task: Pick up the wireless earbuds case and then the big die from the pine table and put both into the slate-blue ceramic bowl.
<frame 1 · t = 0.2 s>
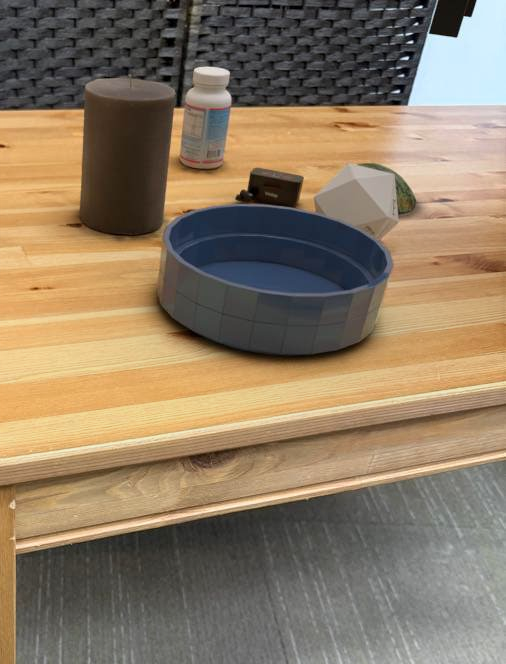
hand: (451, 25, 84), 21 cm above the table, tool pointing down, fingers open, 13 cm apart
pillar candle: (121, 221, 95), on the table
bowl: (264, 305, 80), on the table
die: (346, 246, 92), on the table
pill bottle: (200, 164, 112), on the table
seashell: (373, 201, 104), on the table
wireless earbuds: (264, 204, 101), on the table
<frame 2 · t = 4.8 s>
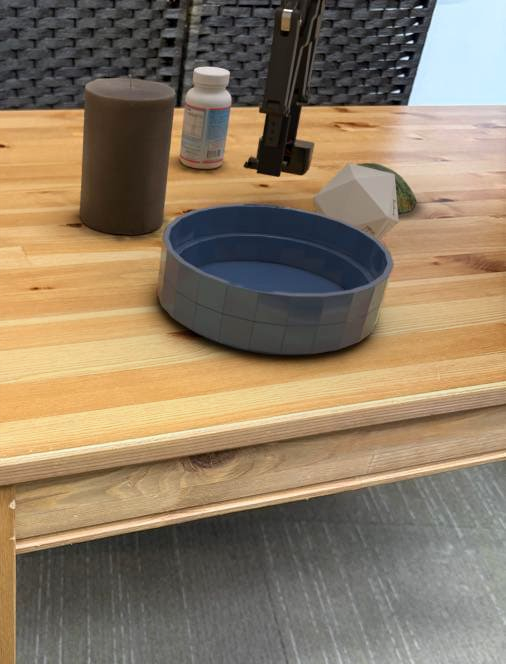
hand: (274, 167, 98), 4 cm above the table, tool pointing down, fingers closed on wireless earbuds, 4 cm apart
wireless earbuds: (273, 172, 99), point 4 cm above the table, touching gripper
everything else where it was.
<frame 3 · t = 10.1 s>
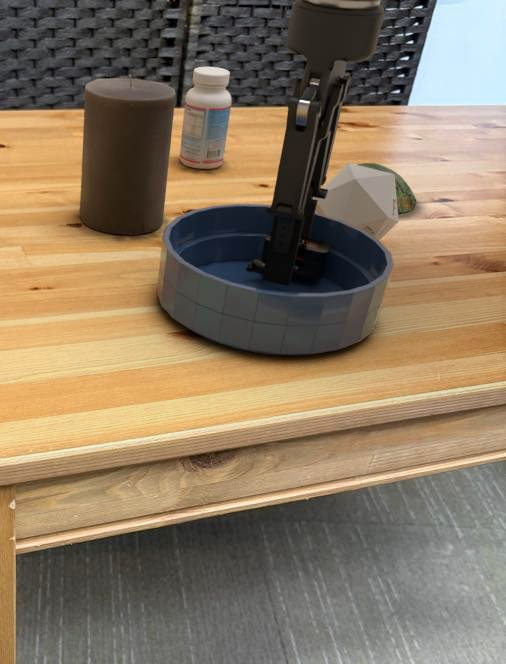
hand: (283, 271, 82), 1 cm above the table, tool pointing down, fingers closed on wireless earbuds, 4 cm apart
wireless earbuds: (282, 275, 83), point 1 cm above the table, touching gripper
everything else where it was.
when the fingers open (3 cm above the table, at t = 16.1 s): wireless earbuds drops 2 cm, resting on bowl.
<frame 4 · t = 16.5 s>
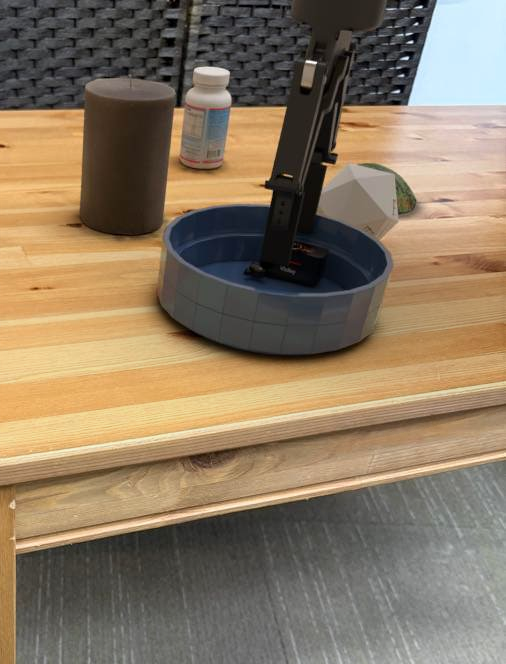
hand: (286, 245, 80), 4 cm above the table, tool pointing down, fingers open, 9 cm apart
wireless earbuds: (279, 280, 83), resting on bowl
everything else where it was.
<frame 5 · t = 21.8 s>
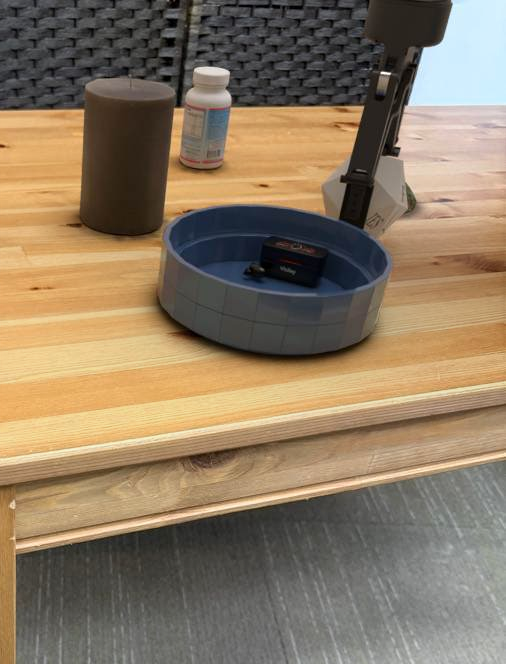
hand: (355, 230, 91), 2 cm above the table, tool pointing down, fingers closed on die, 10 cm apart
die: (355, 235, 91), point 1 cm above the table, touching gripper
everything else where it was.
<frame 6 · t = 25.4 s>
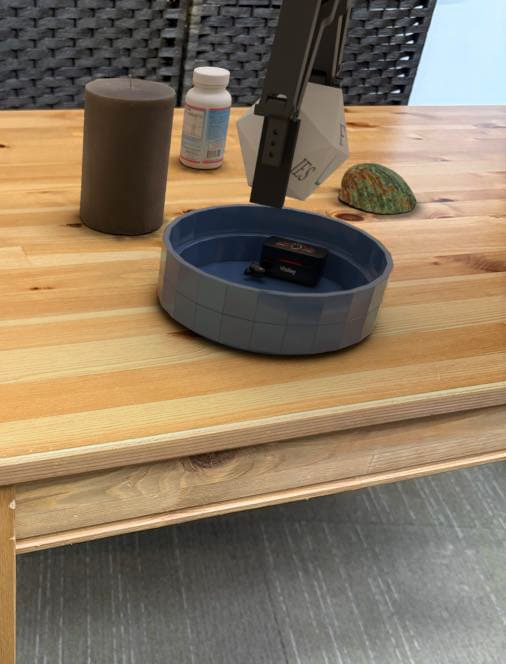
hand: (282, 186, 70), 12 cm above the table, tool pointing down, fingers closed on die, 10 cm apart
die: (282, 191, 70), point 12 cm above the table, touching gripper
everything else where it was.
when the fingers open (1 cm above the table, at t = 28.8 s): die stays where it is, resting on bowl.
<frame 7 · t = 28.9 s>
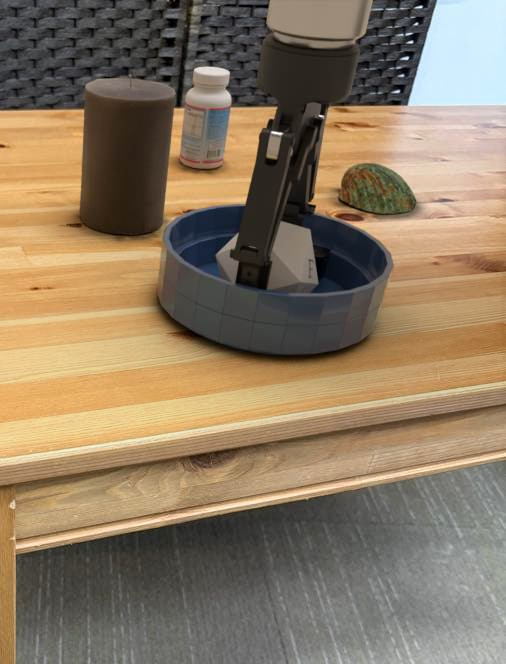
hand: (260, 304, 77), 1 cm above the table, tool pointing down, fingers open, 11 cm apart
die: (259, 311, 78), resting on bowl
wireless earbuds: (280, 279, 83), resting on bowl, touching gripper
everything else where it was.
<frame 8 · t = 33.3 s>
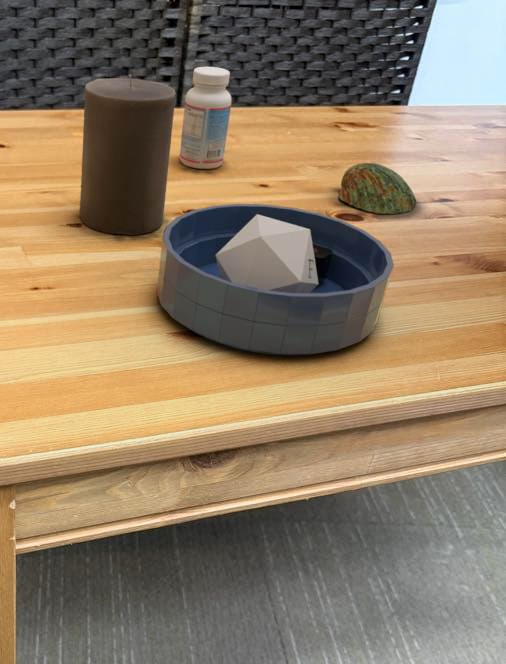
wireless earbuds: (282, 278, 84), resting on bowl
everything else where it was.
at the end: wireless earbuds inside the target area in the bowl (6.2 cm from its centre), point 0.4 cm above the bowl's base; die inside the target area in the bowl (2.5 cm from its centre), point 0.4 cm above the bowl's base; the gripper is holding nothing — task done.
